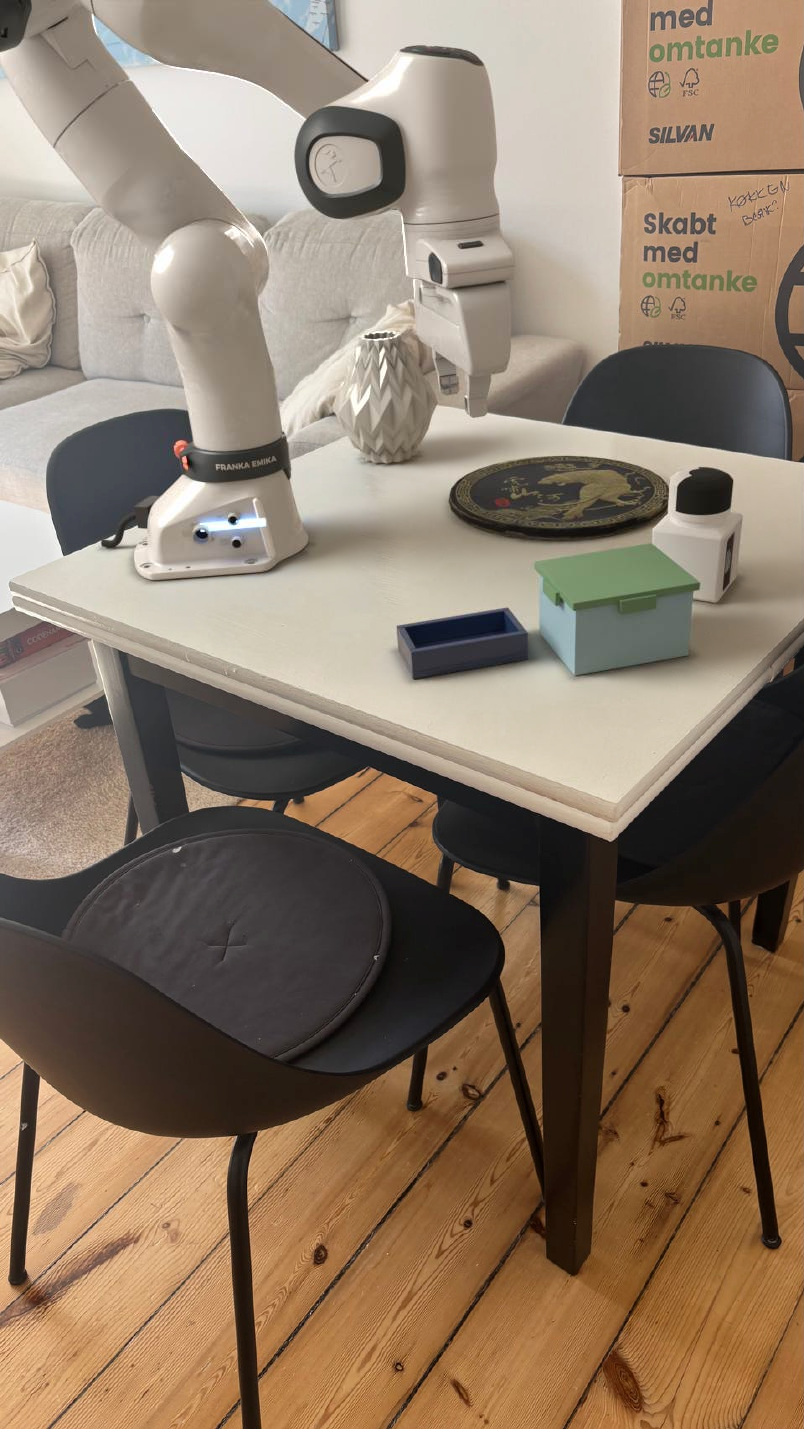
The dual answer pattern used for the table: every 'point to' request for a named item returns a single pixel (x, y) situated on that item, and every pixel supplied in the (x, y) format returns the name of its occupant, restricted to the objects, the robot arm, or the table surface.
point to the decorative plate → (559, 497)
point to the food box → (615, 608)
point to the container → (702, 529)
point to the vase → (384, 399)
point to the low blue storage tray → (462, 642)
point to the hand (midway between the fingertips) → (462, 404)
